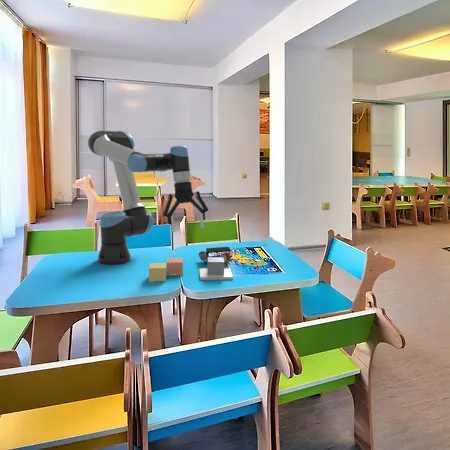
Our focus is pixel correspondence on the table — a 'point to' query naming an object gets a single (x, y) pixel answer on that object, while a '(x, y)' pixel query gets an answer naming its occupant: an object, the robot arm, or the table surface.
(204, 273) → the build plate
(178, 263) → the pinkish brown cube
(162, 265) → the brick mustard
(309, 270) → the table surface
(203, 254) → the figurine character
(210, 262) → the grey cube
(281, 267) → the table surface
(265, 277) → the table surface
